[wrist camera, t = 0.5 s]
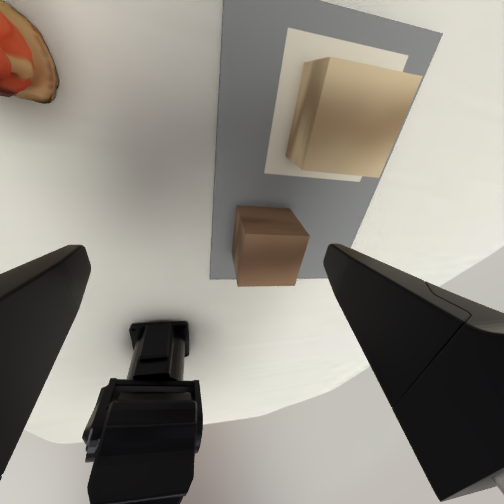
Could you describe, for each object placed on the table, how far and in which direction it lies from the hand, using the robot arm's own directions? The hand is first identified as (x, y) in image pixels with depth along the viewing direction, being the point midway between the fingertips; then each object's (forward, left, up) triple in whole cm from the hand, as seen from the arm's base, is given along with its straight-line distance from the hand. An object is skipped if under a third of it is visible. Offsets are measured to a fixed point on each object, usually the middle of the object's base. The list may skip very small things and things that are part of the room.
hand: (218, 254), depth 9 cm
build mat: (-1, -8, -12) cm, 15 cm away
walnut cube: (-6, -5, -12) cm, 14 cm away
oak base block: (+4, -9, -12) cm, 16 cm away
